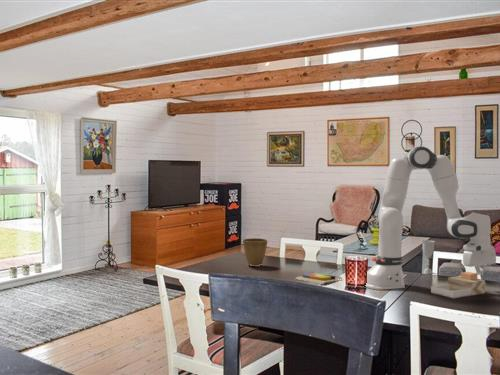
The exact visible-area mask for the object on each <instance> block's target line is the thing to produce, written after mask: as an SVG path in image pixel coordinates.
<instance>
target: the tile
mask: <svg viewBox="0 0 500 375" xmlns="http://www.w3.org/2000/svg"><path fill="white" fill-rule="evenodd" d="M460 276H461V278H463V279H468V280H474V279H478V275H477V273H476V272H472V271H471V272H470V271H464V272H460Z"/></svg>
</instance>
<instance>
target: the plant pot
mask: <svg viewBox="0 0 500 375" xmlns="http://www.w3.org/2000/svg"><path fill="white" fill-rule="evenodd" d="M242 246H243V251H244V254H245V258H246V261H247V264H252V265H259V264H262V265H263V262H264V258H265V255H266V250H267V246H268V239H266V238H255V237H252V238H244V239H242Z"/></svg>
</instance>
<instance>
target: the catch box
mask: <svg viewBox="0 0 500 375" xmlns="http://www.w3.org/2000/svg"><path fill="white" fill-rule="evenodd" d="M430 293H431V294H434V295H438V296H442V297H444V298H445V297H446V298H450V299H453V300H454V299H459V298H463V297H464V298H465V297H471V296H472V295H471V289H463V290H457V291H454V290H450V284H448V283H446V284H445V283H444V284H439V285H438V284H437V285H431V286H430Z"/></svg>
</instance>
